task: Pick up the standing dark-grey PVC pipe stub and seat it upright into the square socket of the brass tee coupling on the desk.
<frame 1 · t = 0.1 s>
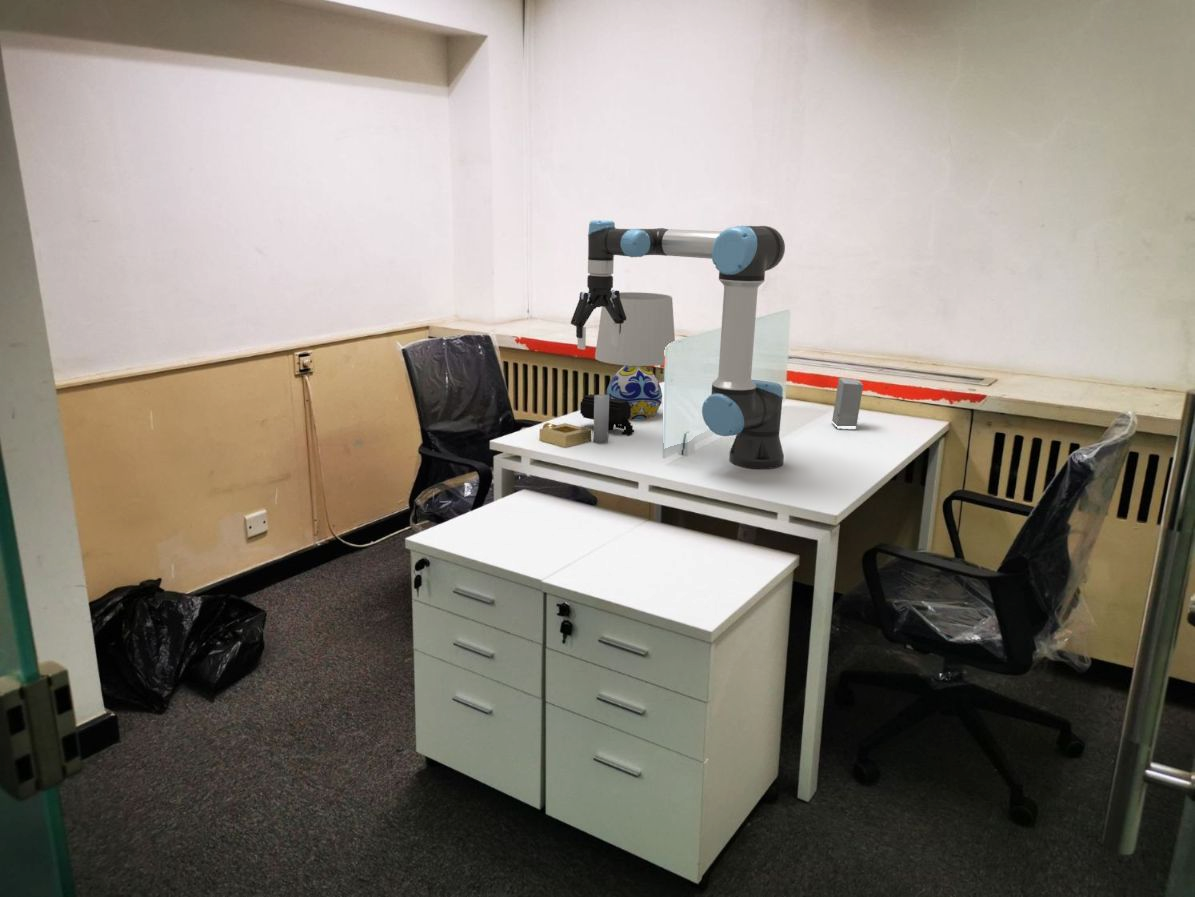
hand: (598, 346, 269), 28 cm above the table, fingers open, 13 cm apart
table lamp: (633, 415, 306), on the table
skincare box: (844, 427, 296), on the table
pipe stub: (600, 441, 271), on the table
security camera: (607, 430, 285), on the table
coupling: (565, 440, 271), on the table
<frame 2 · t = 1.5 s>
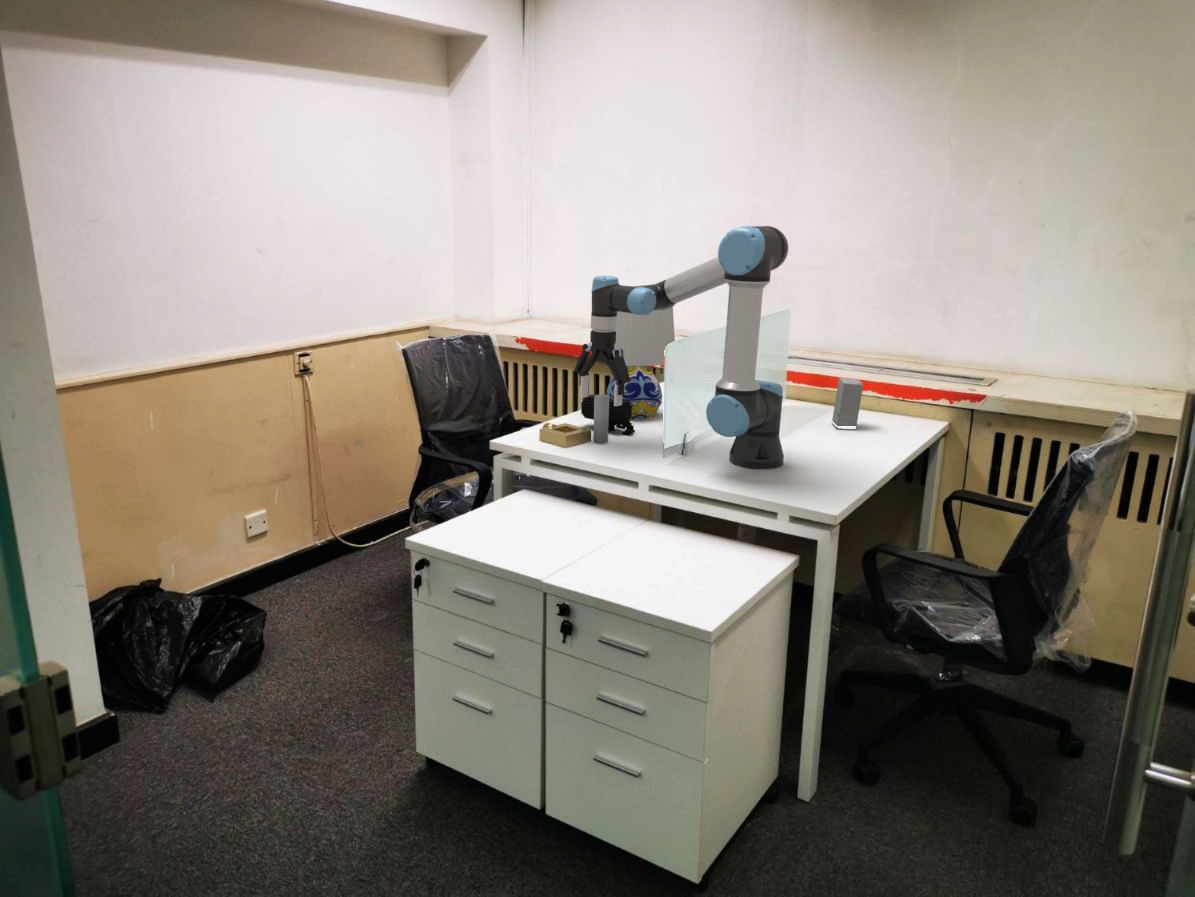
hand: (600, 401, 268), 12 cm above the table, fingers open, 13 cm apart
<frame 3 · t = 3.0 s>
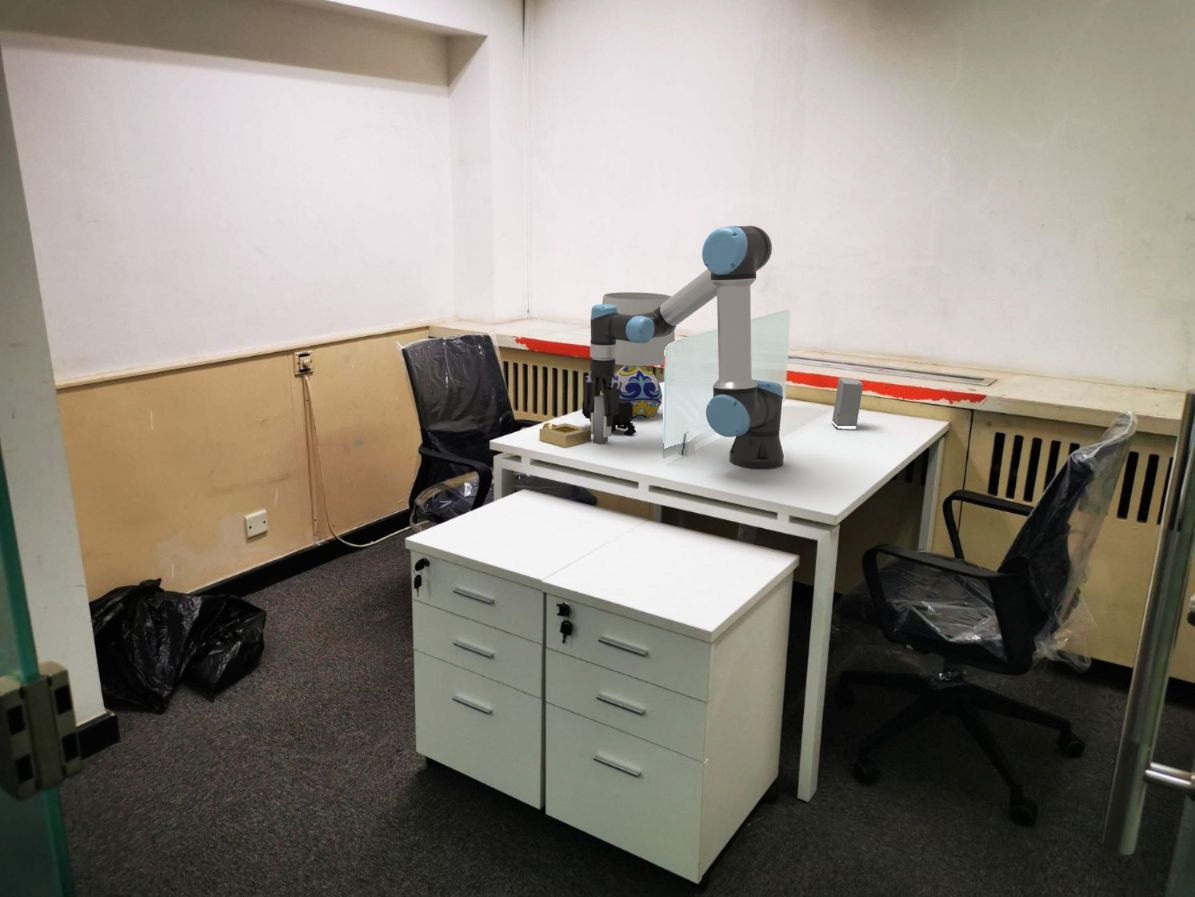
hand: (600, 434, 270), 2 cm above the table, fingers closed on pipe stub, 4 cm apart
pipe stub: (600, 441, 271), on the table, touching gripper
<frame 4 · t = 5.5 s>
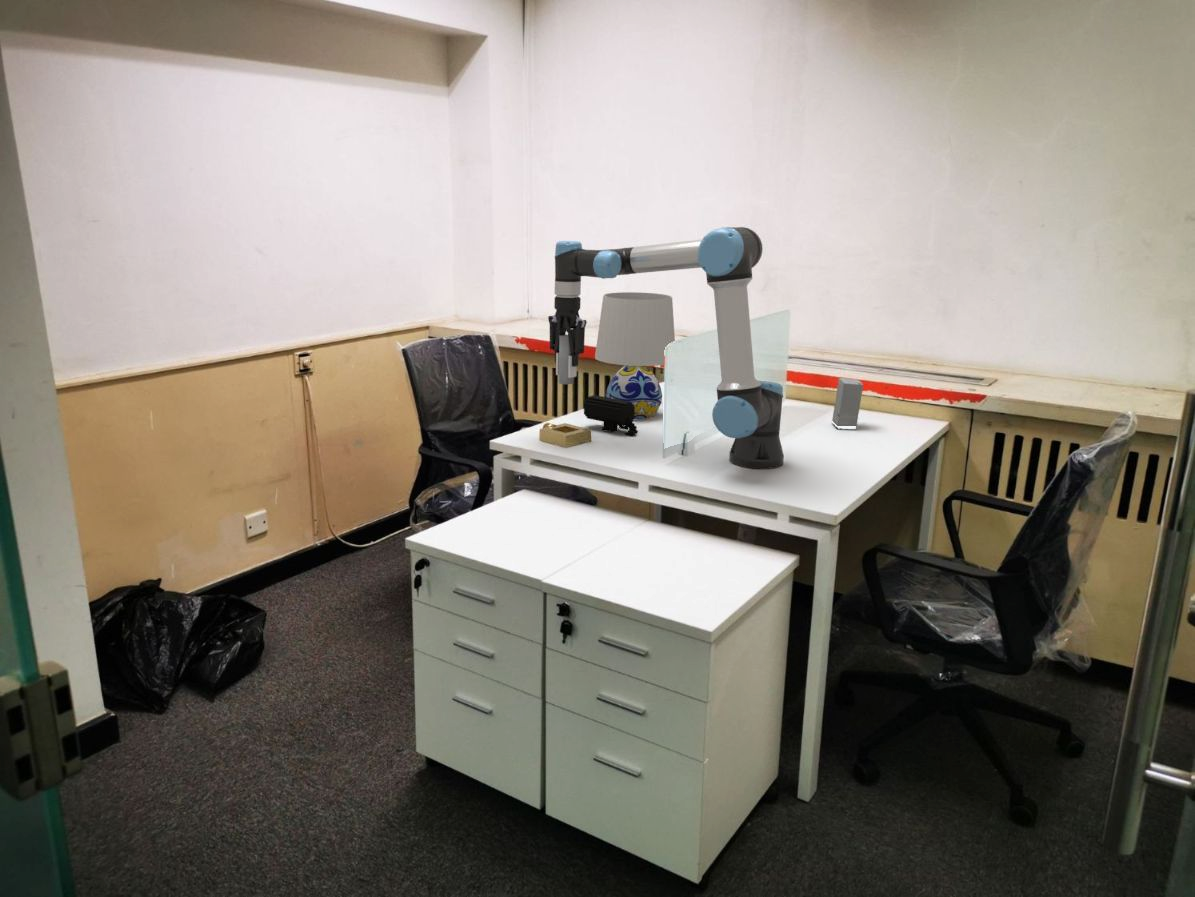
hand: (566, 375, 266), 20 cm above the table, fingers closed on pipe stub, 4 cm apart
pipe stub: (566, 382, 266), point 18 cm above the table, touching gripper
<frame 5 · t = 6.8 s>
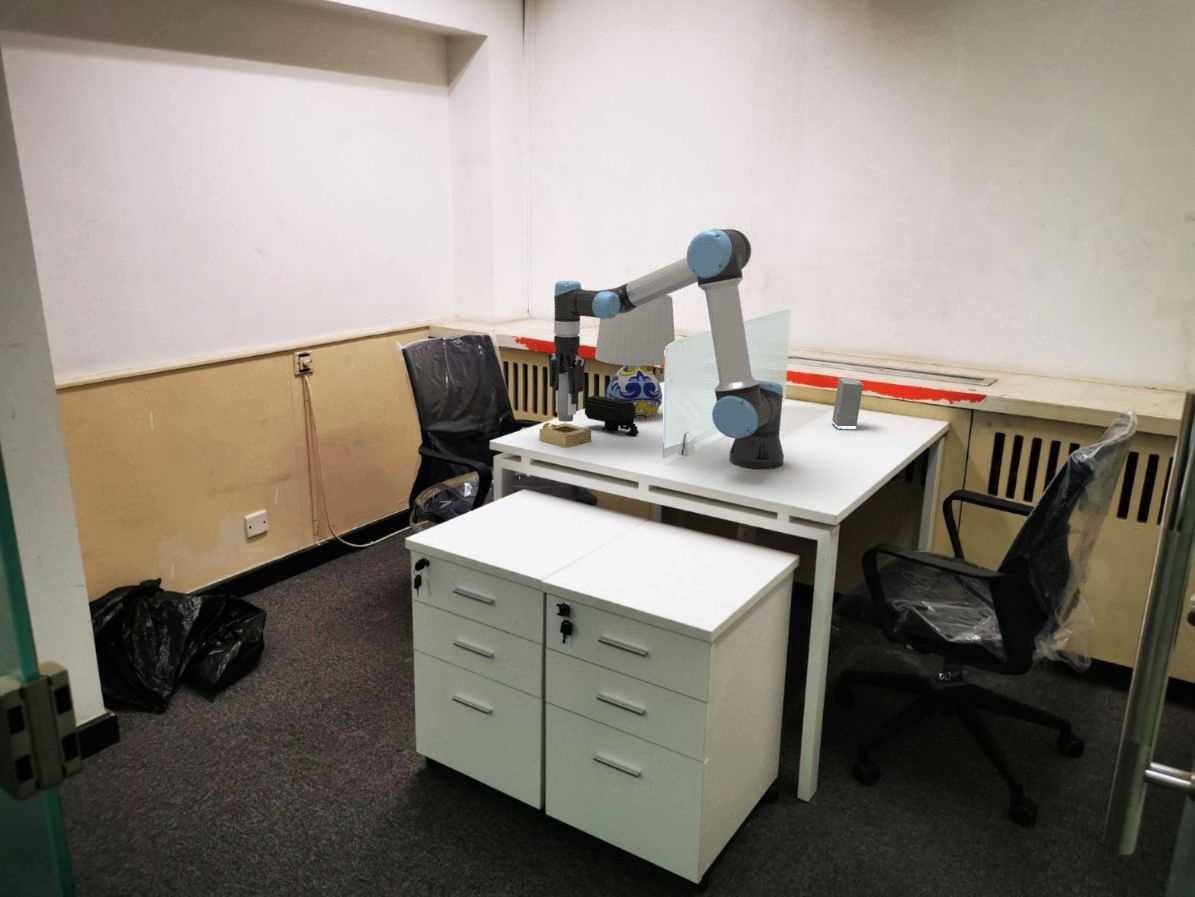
hand: (565, 412, 269), 9 cm above the table, fingers closed on pipe stub, 4 cm apart
pipe stub: (565, 419, 269), point 6 cm above the table, touching gripper
when the fingers open (5 cm above the table, at t = 7.9 s): pipe stub drops 2 cm, resting in coupling.
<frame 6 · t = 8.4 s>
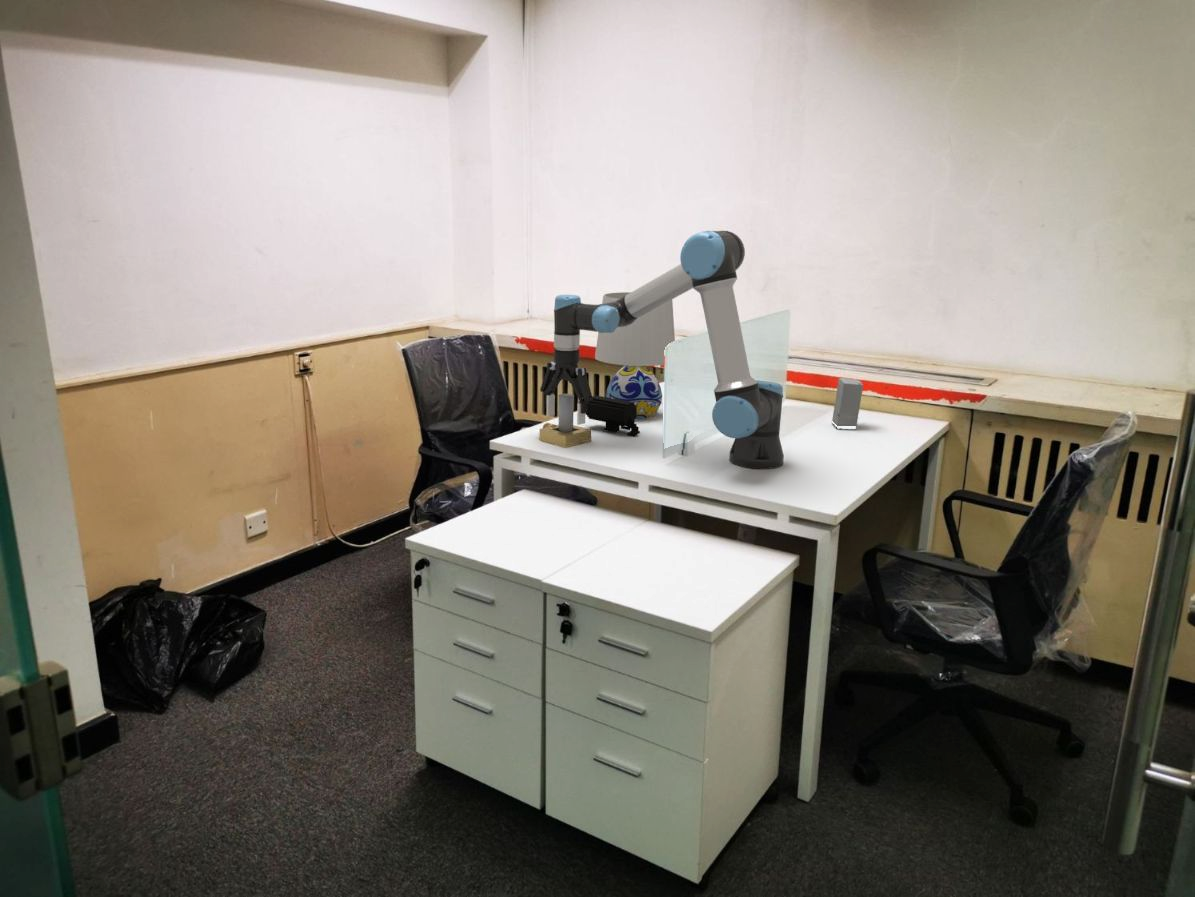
hand: (565, 419, 269), 6 cm above the table, fingers open, 12 cm apart
pipe stub: (565, 440, 271), resting in coupling
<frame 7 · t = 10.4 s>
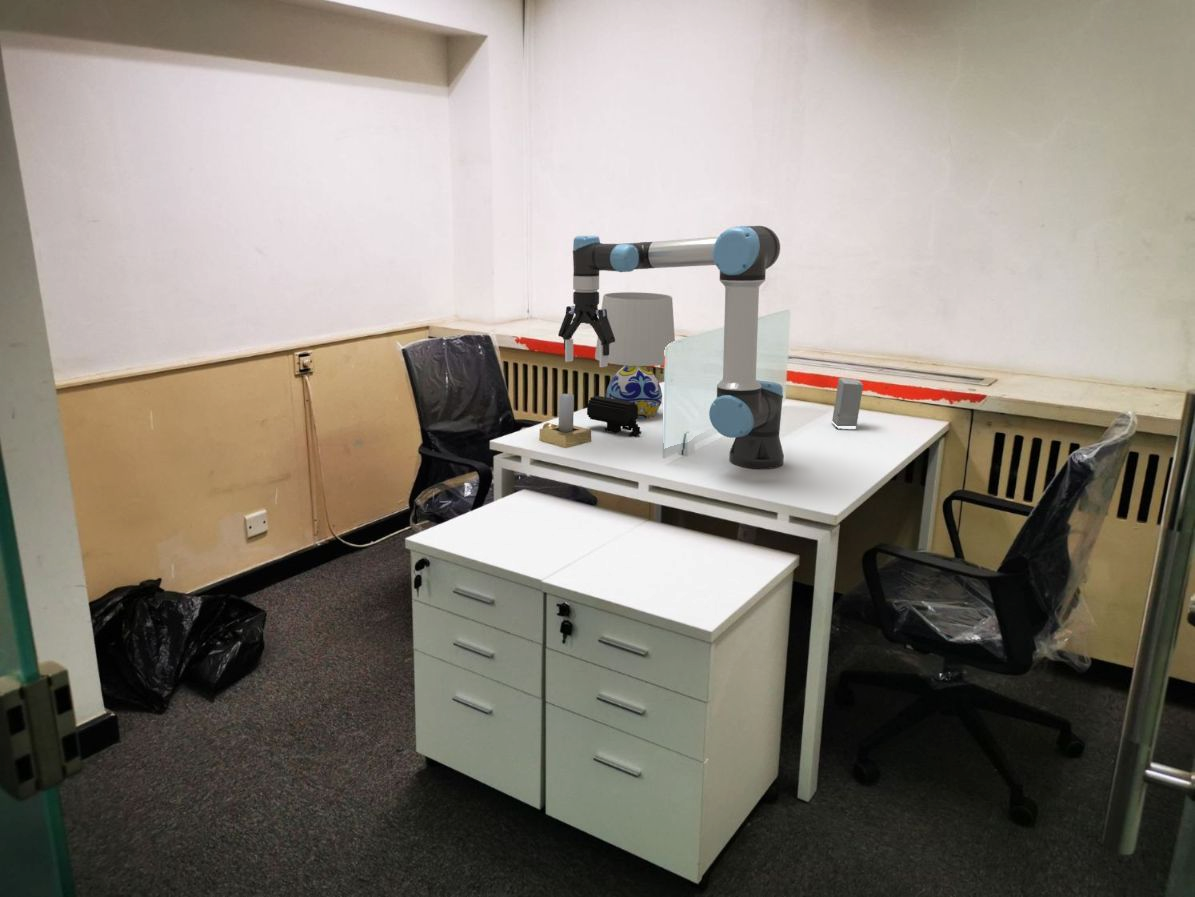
hand: (586, 364, 265), 24 cm above the table, fingers open, 13 cm apart
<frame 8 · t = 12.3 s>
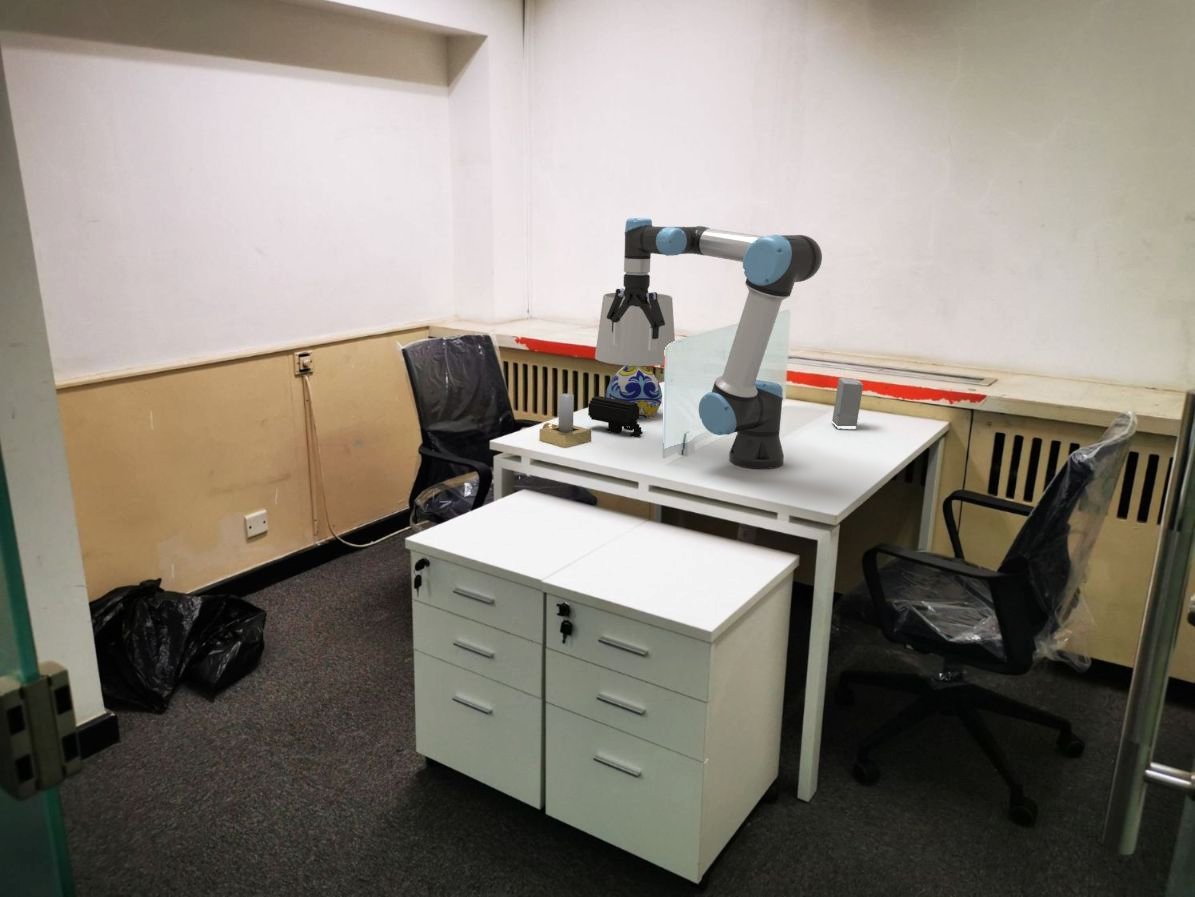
hand: (634, 347, 264), 29 cm above the table, fingers open, 13 cm apart
at the end: pipe stub 0.1 cm off-centre on the coupling, point 0.0 cm above the coupling's base; pipe stub tilted 0°; the gripper is holding nothing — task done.
